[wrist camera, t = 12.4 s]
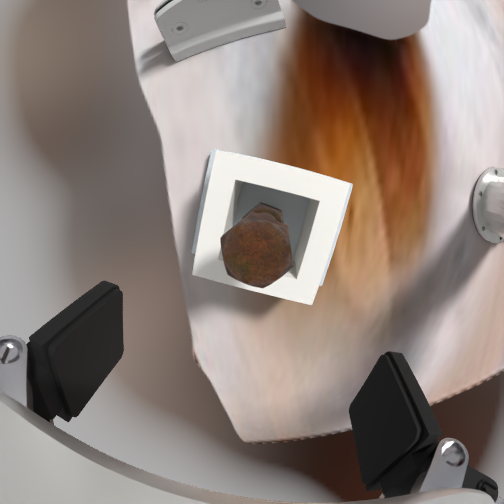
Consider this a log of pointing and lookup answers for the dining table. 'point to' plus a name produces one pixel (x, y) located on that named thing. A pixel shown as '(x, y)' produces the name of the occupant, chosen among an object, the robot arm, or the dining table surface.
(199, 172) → the dining table surface
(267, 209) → the bolt
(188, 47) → the grey arched bracket
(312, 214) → the socket post
